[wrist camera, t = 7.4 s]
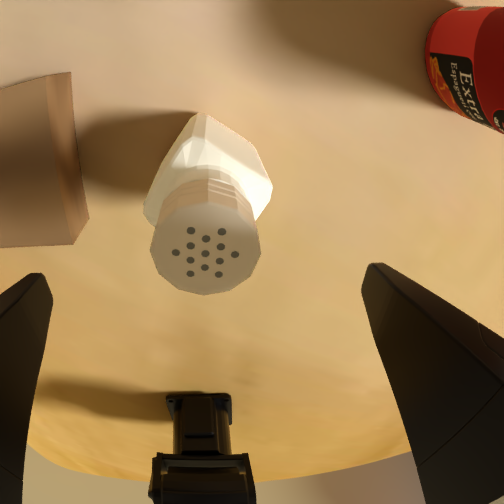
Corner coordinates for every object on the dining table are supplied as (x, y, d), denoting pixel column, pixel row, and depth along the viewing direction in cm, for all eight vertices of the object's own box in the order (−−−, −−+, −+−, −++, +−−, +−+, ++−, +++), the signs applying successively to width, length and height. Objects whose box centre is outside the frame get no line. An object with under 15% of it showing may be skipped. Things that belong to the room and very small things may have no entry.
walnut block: (89, 218, 18) (73, 244, 16) (-14, 226, 17) (-35, 249, 15) (70, 71, 13) (45, 76, 11) (-40, 105, 12) (-69, 117, 10)
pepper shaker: (217, 201, 19) (225, 322, 11) (158, 166, 17) (114, 271, 9) (259, 146, 17) (303, 235, 9) (197, 106, 15) (181, 158, 8)
